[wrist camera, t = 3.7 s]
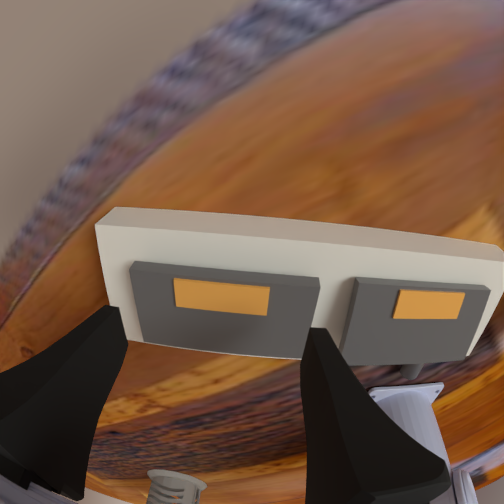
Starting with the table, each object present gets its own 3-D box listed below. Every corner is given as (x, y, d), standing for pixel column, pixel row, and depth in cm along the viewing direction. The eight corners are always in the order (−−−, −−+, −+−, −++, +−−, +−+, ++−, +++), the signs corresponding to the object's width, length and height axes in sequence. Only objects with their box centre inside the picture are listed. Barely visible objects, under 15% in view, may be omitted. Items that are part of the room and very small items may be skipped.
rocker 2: (458, 353, 17) (464, 361, 16) (336, 356, 17) (339, 367, 16) (484, 285, 15) (492, 291, 14) (355, 276, 15) (360, 284, 14)
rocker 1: (301, 348, 17) (302, 360, 16) (147, 332, 17) (142, 343, 17) (318, 277, 15) (321, 289, 14) (134, 260, 15) (127, 271, 14)
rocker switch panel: (439, 363, 22) (448, 385, 20) (139, 347, 22) (128, 371, 20) (495, 244, 17) (515, 263, 14) (115, 206, 17) (94, 224, 15)
